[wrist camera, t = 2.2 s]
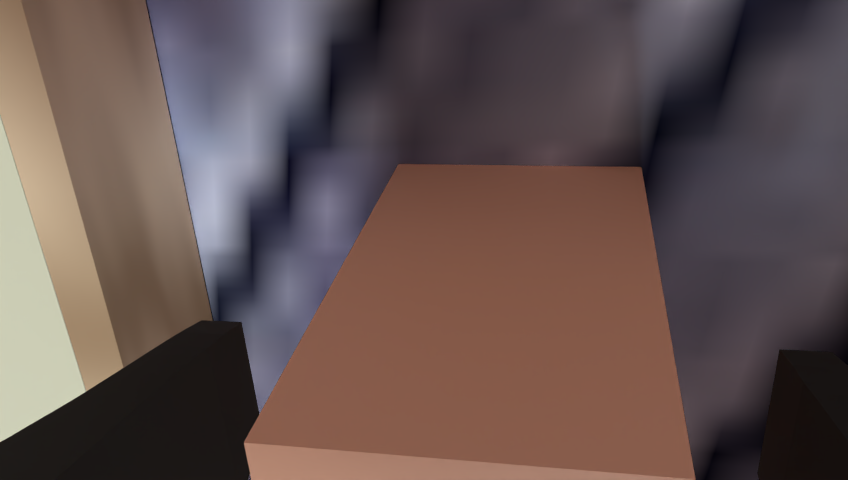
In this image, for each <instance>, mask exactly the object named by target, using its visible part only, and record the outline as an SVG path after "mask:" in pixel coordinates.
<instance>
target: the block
mask: <svg viewBox="0 0 848 480" xmlns="http://www.w3.org/2000/svg"><path fill="white" fill-rule="evenodd" d="M244 446H245V451H246V456H247V461H248V466H249V470H250V475H251V480H696V479H695V473H694V468H693V462H692V456H691V450H690V445H689V439H688V433H687V427H686V422H685V416H684V410H683V404H682V398H681V393H680V387H679V381H678V375H677V370H676V364H675V358H674V352H673V347H672V341H671V335H670V329H669V323H668V318H667V312H666V306H665V300H664V295H663V289H662V283H661V277H660V271H659V266H658V260H657V254H656V248H655V243H654V237H653V231H652V225H651V220H650V214H649V208H648V202H647V196H646V191H645V185H644V179H643V173H642V168H641V167H609V166H527V165H445V164H398V166H397V167H396V169H395V171H394V173H393V175H392V176H391V178H390V180H389V182H388V184H387V185H386V187H385V189H384V191H383V193H382V194H381V196H380V198H379V200H378V202H377V203H376V205H375V207H374V209H373V211H372V213H371V214H370V216H369V218H368V220H367V222H366V223H365V225H364V227H363V229H362V231H361V232H360V234H359V236H358V238H357V240H356V241H355V243H354V245H353V247H352V249H351V250H350V252H349V254H348V256H347V258H346V259H345V261H344V263H343V265H342V267H341V268H340V270H339V272H338V274H337V276H336V277H335V279H334V281H333V283H332V285H331V286H330V288H329V290H328V292H327V294H326V295H325V297H324V299H323V301H322V303H321V304H320V306H319V308H318V310H317V312H316V313H315V315H314V317H313V319H312V321H311V322H310V324H309V326H308V328H307V330H306V331H305V333H304V335H303V337H302V339H301V340H300V342H299V344H298V346H297V348H296V349H295V351H294V353H293V355H292V357H291V358H290V360H289V362H288V364H287V366H286V367H285V369H284V371H283V373H282V375H281V376H280V378H279V380H278V382H277V384H276V385H275V387H274V389H273V391H272V393H271V394H270V396H269V398H268V400H267V402H266V403H265V405H264V407H263V409H262V411H261V412H260V414H259V416H258V418H257V420H256V421H255V423H254V425H253V427H252V429H251V430H250V432H249V434H248V436H247V438H246V439H245V441H244Z"/></svg>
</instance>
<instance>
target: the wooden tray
mask: <svg viewBox="0 0 848 480" xmlns="http://www.w3.org/2000/svg"><path fill="white" fill-rule="evenodd" d="M0 115H1V118H2V121H3V125H4V128H5V131H6V134H7V137H8V141H9V144H10V147H11V150H12V154H13V157H14V160H15V163H16V166H17V170H18V173H19V176H20V179H21V183H22V186H23V189H24V192H25V195H26V199H27V202H28V205H29V208H30V212H31V215H32V218H33V221H34V224H35V228H36V231H37V234H38V237H39V241H40V244H41V247H42V250H43V253H44V257H45V260H46V263H47V266H48V270H49V273H50V276H51V279H52V282H53V286H54V289H55V292H56V295H57V299H58V302H59V305H60V308H61V311H62V315H63V318H64V321H65V324H66V328H67V331H68V334H69V337H70V340H71V344H72V347H73V350H74V353H75V357H76V360H77V363H78V366H79V369H80V373H81V376H82V379H83V382H84V386H85V389H86V391H88V390H89V389H91V388H92V387H94V386H96V385H97V384H99V383H100V382H102V381H103V380H105V379H107V378H108V377H110V376H111V375H113V374H115V373H116V372H118V371H119V370H121V369H122V368H124V367H126V366H127V365H129V364H130V363H132V362H133V361H135V360H137V359H138V358H140V357H141V356H143V355H144V354H146V353H147V352H149V351H151V350H152V349H154V348H155V347H157V346H158V345H160V344H162V343H163V342H165V341H166V340H168V339H170V338H171V337H173V336H175V335H176V334H178V333H180V332H181V331H183V330H185V329H186V328H188V327H190V326H192V325H194V324H196V323H197V322H199V321H201V320H207V321H213V320H212V315H211V310H210V305H209V301H208V296H207V291H206V286H205V282H204V277H203V272H202V267H201V263H200V258H199V253H198V248H197V244H196V239H195V234H194V229H193V224H192V220H191V215H190V210H189V205H188V201H187V196H186V191H185V186H184V182H183V177H182V172H181V167H180V163H179V158H178V153H177V148H176V144H175V139H174V134H173V129H172V125H171V120H170V115H169V110H168V106H167V101H166V96H165V91H164V86H163V82H162V77H161V72H160V67H159V63H158V58H157V53H156V48H155V44H154V39H153V34H152V29H151V25H150V20H149V15H148V10H147V6H146V1H145V0H0Z"/></svg>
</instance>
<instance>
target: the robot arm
mask: <svg viewBox="0 0 848 480" xmlns="http://www.w3.org/2000/svg"><path fill="white" fill-rule="evenodd" d="M258 416H259V411H258V405H257V400H256V395H255V390H254V385H253V380H252V374H251V369H250V364H249V359H248V354H247V349H246V344H245V338H244V333H243V328H242V323H241V322H227V321H207V320H201V321H199V322H197V323H196V324H194V325H192V326H190V327H188V328H186V329H185V330H183V331H181V332H180V333H178V334H176V335H175V336H173V337H171V338H170V339H168V340H166V341H165V342H163V343H162V344H160V345H158V346H157V347H155V348H154V349H152V350H151V351H149V352H147V353H146V354H144V355H143V356H141V357H140V358H138V359H137V360H135V361H133V362H132V363H130V364H129V365H127V366H126V367H124V368H122V369H121V370H119V371H118V372H116V373H115V374H113V375H111V376H110V377H108V378H107V379H105V380H103V381H102V382H100V383H99V384H97V385H96V386H94V387H92V388H91V389H89V390H88V391H86V392H85V393H83V394H81V395H80V396H78V397H76V398H75V399H73V400H71V401H70V402H68V403H66V404H65V405H63V406H61V407H60V408H58V409H56V410H54V411H53V412H51V413H49V414H48V415H46V416H44V417H42V418H41V419H39V420H37V421H36V422H34V423H32V424H30V425H29V426H27V427H25V428H24V429H22V430H20V431H19V432H17V433H15V434H13V435H12V436H10V437H8V438H7V439H5V440H3V441H1V442H0V480H248V477H249V474H250V470H249V466H248V461H247V456H246V451H245V446H244V441H245V439H246V438H247V436H248V434H249V432H250V430H251V429H252V427H253V425H254V423H255V421H256V420H257V418H258ZM758 478H759V480H848V366H847V365H846V364H845V363H844V362H843V361H842V360H841V359H839V358H838V357H837V356H836V355H835V354H834V353H832V352H820V351H800V350H779V356H778V361H777V367H776V373H775V378H774V384H773V389H772V395H771V401H770V406H769V412H768V417H767V423H766V429H765V434H764V440H763V445H762V451H761V457H760V462H759V468H758Z"/></svg>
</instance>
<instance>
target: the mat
mask: <svg viewBox="0 0 848 480" xmlns="http://www.w3.org/2000/svg"><path fill="white" fill-rule="evenodd" d="M85 392H86V389H85V386H84V382H83V379H82V376H81V373H80V369H79V366H78V363H77V360H76V357H75V353H74V350H73V347H72V344H71V340H70V337H69V334H68V331H67V328H66V324H65V321H64V318H63V315H62V311H61V308H60V305H59V302H58V299H57V295H56V292H55V289H54V286H53V282H52V279H51V276H50V273H49V270H48V266H47V263H46V260H45V257H44V253H43V250H42V247H41V244H40V241H39V237H38V234H37V231H36V228H35V224H34V221H33V218H32V215H31V212H30V208H29V205H28V202H27V199H26V195H25V192H24V189H23V186H22V183H21V179H20V176H19V173H18V170H17V166H16V163H15V160H14V157H13V154H12V150H11V147H10V144H9V141H8V137H7V134H6V131H5V128H4V125H3V121H2V118H1V115H0V442H1V441H3V440H5V439H7V438H8V437H10V436H12V435H13V434H15V433H17V432H19V431H20V430H22V429H24V428H25V427H27V426H29V425H30V424H32V423H34V422H36V421H37V420H39V419H41V418H42V417H44V416H46V415H48V414H49V413H51V412H53V411H54V410H56V409H58V408H60V407H61V406H63V405H65V404H66V403H68V402H70V401H71V400H73V399H75V398H76V397H78V396H80V395H81V394H83V393H85Z"/></svg>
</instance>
